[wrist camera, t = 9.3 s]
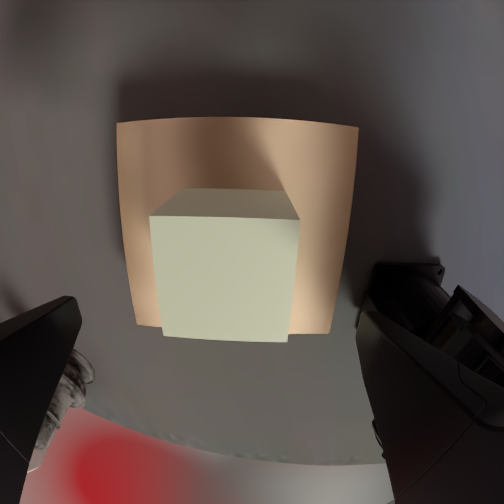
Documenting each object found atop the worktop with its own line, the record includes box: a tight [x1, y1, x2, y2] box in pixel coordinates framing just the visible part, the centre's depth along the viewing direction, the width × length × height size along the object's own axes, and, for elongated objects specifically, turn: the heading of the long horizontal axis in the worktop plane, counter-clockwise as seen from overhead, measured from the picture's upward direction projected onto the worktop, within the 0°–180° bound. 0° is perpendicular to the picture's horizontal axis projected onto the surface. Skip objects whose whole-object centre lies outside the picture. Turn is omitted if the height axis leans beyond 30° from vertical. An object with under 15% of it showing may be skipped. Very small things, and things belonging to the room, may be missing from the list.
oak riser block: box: [117, 117, 359, 334], centre depth 17 cm, size 12×12×4 cm
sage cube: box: [149, 188, 300, 342], centre depth 13 cm, size 5×5×5 cm
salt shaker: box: [34, 350, 95, 450], centre depth 19 cm, size 6×6×12 cm
